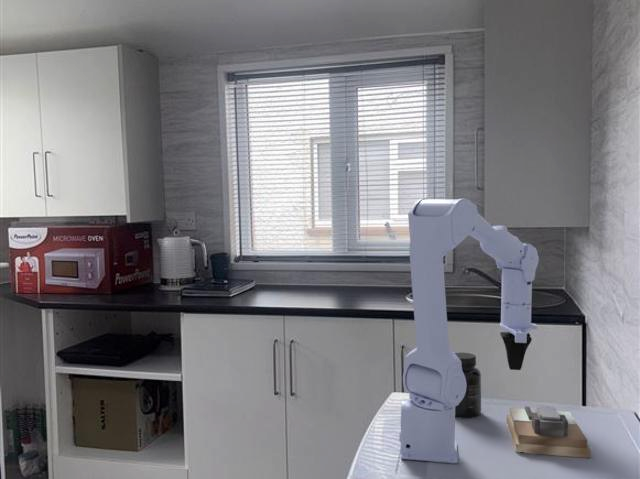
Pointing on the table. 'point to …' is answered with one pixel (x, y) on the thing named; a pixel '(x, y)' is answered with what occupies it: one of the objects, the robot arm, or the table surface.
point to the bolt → (547, 413)
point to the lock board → (546, 434)
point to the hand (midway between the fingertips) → (514, 368)
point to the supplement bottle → (470, 388)
